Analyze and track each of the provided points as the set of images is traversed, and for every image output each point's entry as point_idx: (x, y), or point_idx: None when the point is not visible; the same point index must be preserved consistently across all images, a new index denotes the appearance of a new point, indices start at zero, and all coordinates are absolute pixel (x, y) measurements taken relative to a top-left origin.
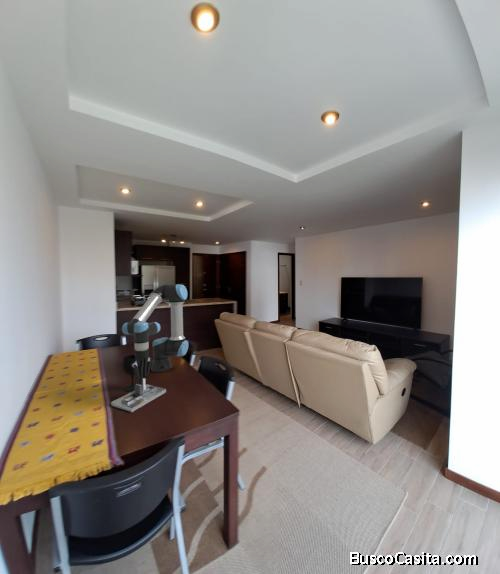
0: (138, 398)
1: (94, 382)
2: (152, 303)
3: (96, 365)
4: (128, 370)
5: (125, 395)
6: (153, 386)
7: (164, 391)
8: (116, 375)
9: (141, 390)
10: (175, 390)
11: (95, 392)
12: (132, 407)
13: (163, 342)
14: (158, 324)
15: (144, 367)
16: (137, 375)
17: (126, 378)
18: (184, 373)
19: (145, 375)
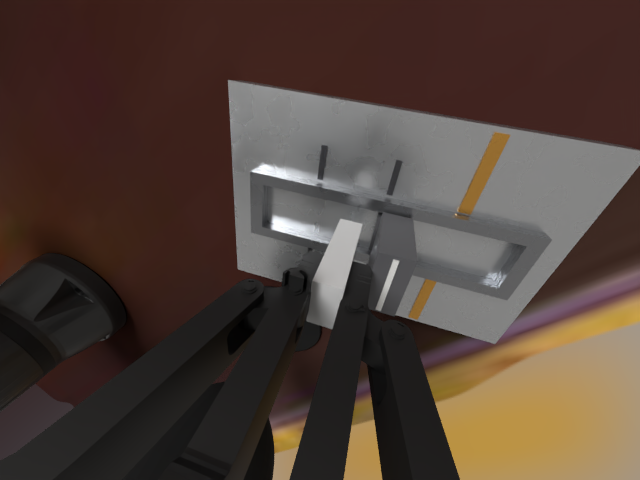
0: (437, 208)
1: (295, 440)
2: None
3: None
4: (267, 456)
5: (398, 311)
6: (253, 203)
7: (253, 83)
8: None
9: (393, 229)
10: (187, 5)
11: (362, 419)
12: (624, 157)
13: None
14: None
15: (240, 450)
16: (428, 400)
17: (225, 373)
18: (11, 139)
19: (293, 304)
